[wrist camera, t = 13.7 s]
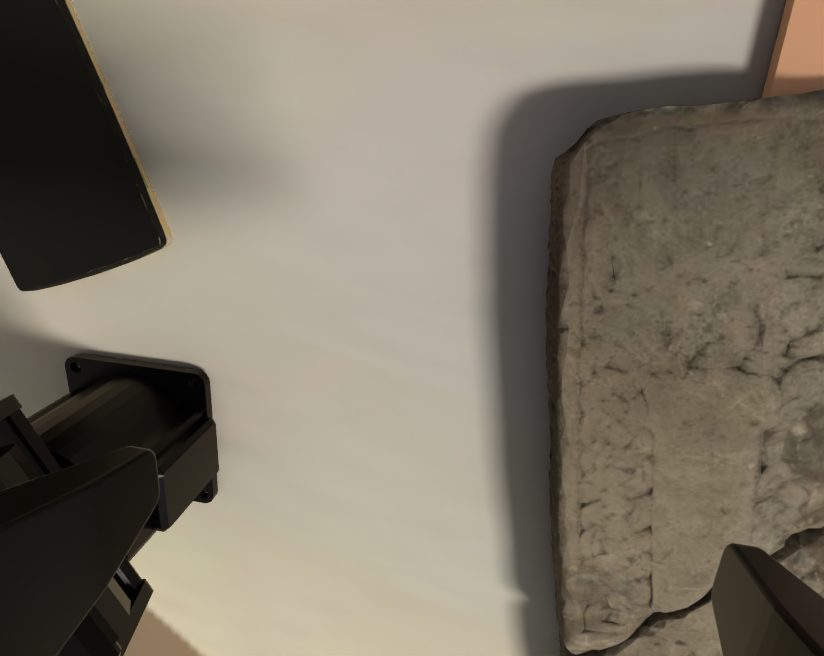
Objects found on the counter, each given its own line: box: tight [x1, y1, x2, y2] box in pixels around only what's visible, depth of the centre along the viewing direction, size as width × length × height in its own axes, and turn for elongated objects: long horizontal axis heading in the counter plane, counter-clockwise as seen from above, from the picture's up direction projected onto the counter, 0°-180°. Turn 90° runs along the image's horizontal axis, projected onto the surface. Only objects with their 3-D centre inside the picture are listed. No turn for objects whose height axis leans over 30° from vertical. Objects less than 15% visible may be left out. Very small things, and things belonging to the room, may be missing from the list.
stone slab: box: [546, 89, 824, 656], centre depth 21 cm, size 10×3×30 cm
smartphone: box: [0, 0, 172, 291], centre depth 21 cm, size 7×1×15 cm
